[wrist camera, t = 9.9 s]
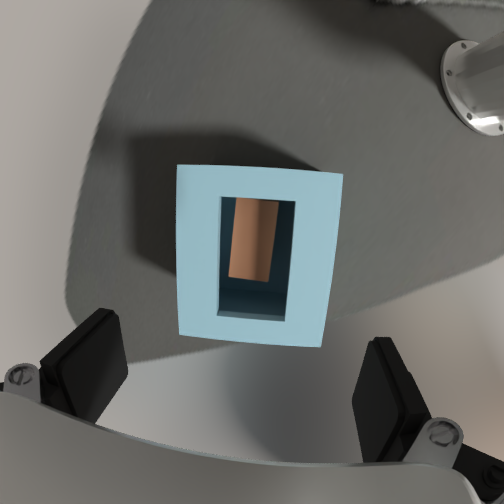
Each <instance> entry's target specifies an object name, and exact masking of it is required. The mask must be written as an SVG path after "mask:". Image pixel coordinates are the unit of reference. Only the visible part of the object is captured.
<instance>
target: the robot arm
mask: <svg viewBox="0 0 504 504" xmlns="http://www.w3.org/2000/svg"><path fill="white" fill-rule="evenodd" d="M440 72H441V80H442V85H443V88H444V91H445V94H446V96H447V99H448V101H449V103H450V105H451V106H452V108H453V110H454V111H455V113H456V114H457V115H458V116H459V118H460V119H461V120H462V121H463V122H464V123H465V124H466V125H467V126H468V127H469V128H471V129H472V130H474V131H475V132H477V133H479V134H482V135H486V136H497V135H502V134H503V133H504V31H503V32H501V33H499V34H497V35H496V36H494V37H492V38H490V39H488V40H486V41H484V42H482V43H480V44H479V43H476V42H473V41H468V40H462V41H458V42H455V43H453V44H452V45H450V46H449V47H448V48H447V49H446V50H445V52H444V54H443V56H442V59H441V65H440ZM40 364H41V368H40V369H39V370H38V368H37V367H36V366H35V365H33V364H28V363H22V364H18V365H15V366H13V367H12V368H10V369H9V370H8V372H7V373H6V375H5V379H4V382H2V383H0V504H504V462H503V461H501V460H498V459H496V458H494V457H492V456H489V455H487V454H485V453H483V452H480V451H478V450H476V449H474V448H472V447H469V446H467V445H465V444H463V443H462V442H463V437H464V435H463V431H462V429H461V428H460V426H459V425H458V424H457V423H456V422H454V421H452V420H450V419H447V418H440V417H437V418H432V417H431V415H430V412H429V410H428V408H427V406H426V404H425V402H424V400H423V397H422V395H421V393H420V391H419V389H418V387H417V385H416V383H415V381H414V379H413V377H412V375H411V373H410V372H408V370H407V368H406V366H405V364H404V363H403V360H402V358H401V356H400V354H399V352H398V351H397V349H396V347H395V345H394V343H393V341H392V339H391V338H390V337H375V338H374V340H373V341H369V343H368V346H367V350H366V353H365V357H364V360H363V364H362V367H361V371H360V374H359V377H358V381H357V384H356V387H355V390H354V393H353V397H352V406H353V411H354V416H355V421H356V425H357V431H358V436H359V442H360V446H361V451H362V457H363V463H346V464H345V463H343V464H321V463H288V462H273V461H261V460H252V459H243V458H235V457H227V456H220V455H214V454H208V453H203V452H197V451H192V450H187V449H182V448H178V447H173V446H169V445H165V444H160V443H156V442H153V441H149V440H145V439H141V438H138V437H134V436H130V435H127V434H124V433H121V432H117V431H114V430H111V429H108V428H105V427H102V426H99V425H96V424H95V423H96V421H97V420H98V418H99V417H100V416H101V414H102V413H103V411H104V410H105V408H106V407H107V405H108V404H109V402H110V401H111V399H112V398H113V397H114V395H115V394H116V392H117V391H118V389H119V388H120V386H121V385H122V383H123V382H124V381H125V379H126V378H127V375H128V366H127V361H126V356H125V351H124V346H123V340H122V334H121V328H120V322H119V317H118V315H117V314H115V312H114V311H113V310H110V309H105V308H99V309H98V310H96V311H95V312H94V313H93V314H92V315H91V316H89V317H88V318H87V319H86V320H85V321H84V322H83V323H81V324H80V325H79V326H78V327H77V328H76V329H75V330H73V331H72V332H71V333H70V334H69V335H68V336H67V337H66V338H64V339H63V340H62V341H61V342H60V343H59V344H58V345H57V346H56V347H55V348H53V349H52V350H51V351H50V352H49V353H48V354H47V355H46V356H45V357H44V358H42V359H41V360H40Z"/></svg>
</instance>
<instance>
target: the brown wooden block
mask: <svg viewBox="0 0 504 504" xmlns="http://www.w3.org/2000/svg"><path fill="white" fill-rule="evenodd" d="M278 206H279V200H272V199H257V198H240V197H237V199H236V208H235V217H234V227H233V237H232V247H231V257H230V267H229V277H235V278H242V279H249V280H257V281H264V282H268V279H269V272H270V265H271V258H272V251H273V243H274V236H275V229H276V221H277V213H278Z"/></svg>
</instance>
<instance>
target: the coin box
mask: <svg viewBox="0 0 504 504" xmlns="http://www.w3.org/2000/svg"><path fill="white" fill-rule="evenodd" d="M342 182H343V174H337V173H328V172H317V171H306V170H294V169H281V168H266V167H247V166H222V165H177V187H176V267H177V298H178V319H179V335H186V336H194V337H202V338H210V339H219V340H228V341H238V342H249V343H261V344H274V345H288V346H306V347H321V341H322V336H323V331H324V325H325V319H326V313H327V307H328V301H329V294H330V288H331V281H332V274H333V266H334V259H335V251H336V243H337V234H338V225H339V215H340V205H341V194H342ZM237 197H240V198H257V199H272V200H279V206H278V213H277V221H276V229H275V236H274V243H273V251H272V258H271V265H270V272H269V279H268V282H264V281H257V280H249V279H242V278H235V277H229V267H230V257H231V247H232V237H233V227H234V217H235V208H236V199H237Z"/></svg>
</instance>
